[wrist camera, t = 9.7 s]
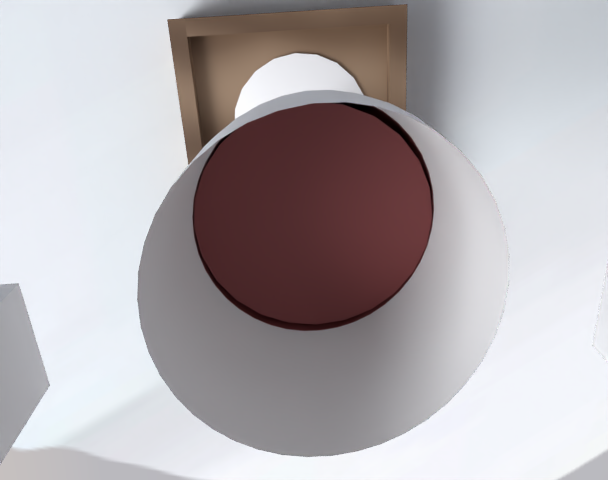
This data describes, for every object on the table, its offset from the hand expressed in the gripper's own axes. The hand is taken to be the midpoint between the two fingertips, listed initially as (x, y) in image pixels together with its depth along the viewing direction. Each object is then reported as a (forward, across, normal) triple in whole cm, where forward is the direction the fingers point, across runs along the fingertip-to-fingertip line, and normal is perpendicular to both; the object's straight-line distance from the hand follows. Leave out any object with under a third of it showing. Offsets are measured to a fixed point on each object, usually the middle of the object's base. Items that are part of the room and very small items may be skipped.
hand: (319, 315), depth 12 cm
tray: (+27, 0, -1) cm, 27 cm away
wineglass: (+24, 0, 0) cm, 24 cm away
